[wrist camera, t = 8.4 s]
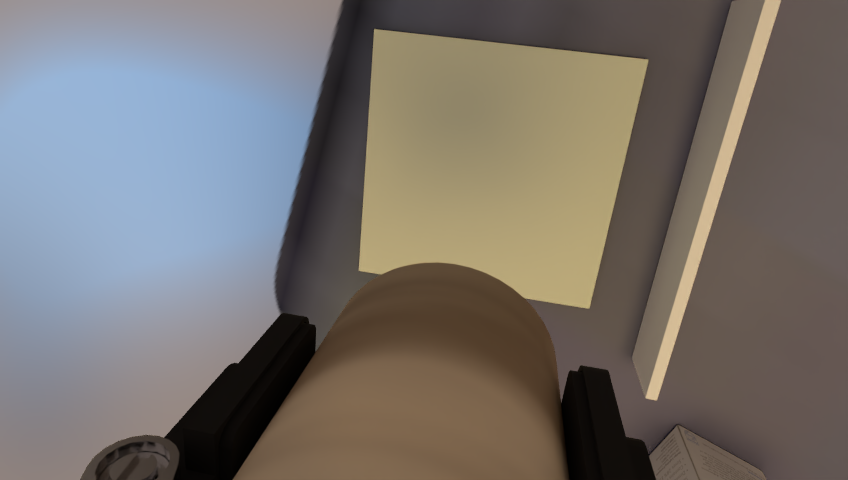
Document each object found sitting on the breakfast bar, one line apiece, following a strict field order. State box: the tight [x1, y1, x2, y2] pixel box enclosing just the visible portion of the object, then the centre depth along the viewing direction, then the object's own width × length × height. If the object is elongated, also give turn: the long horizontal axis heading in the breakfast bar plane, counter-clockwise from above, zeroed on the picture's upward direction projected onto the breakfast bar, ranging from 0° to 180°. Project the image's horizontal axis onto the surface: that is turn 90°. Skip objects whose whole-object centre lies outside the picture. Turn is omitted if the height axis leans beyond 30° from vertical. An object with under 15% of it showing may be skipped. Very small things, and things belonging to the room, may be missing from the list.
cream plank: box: [632, 0, 781, 400], centre depth 28 cm, size 20×1×4 cm, turn 174°
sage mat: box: [359, 29, 648, 309], centre depth 31 cm, size 14×14×1 cm
